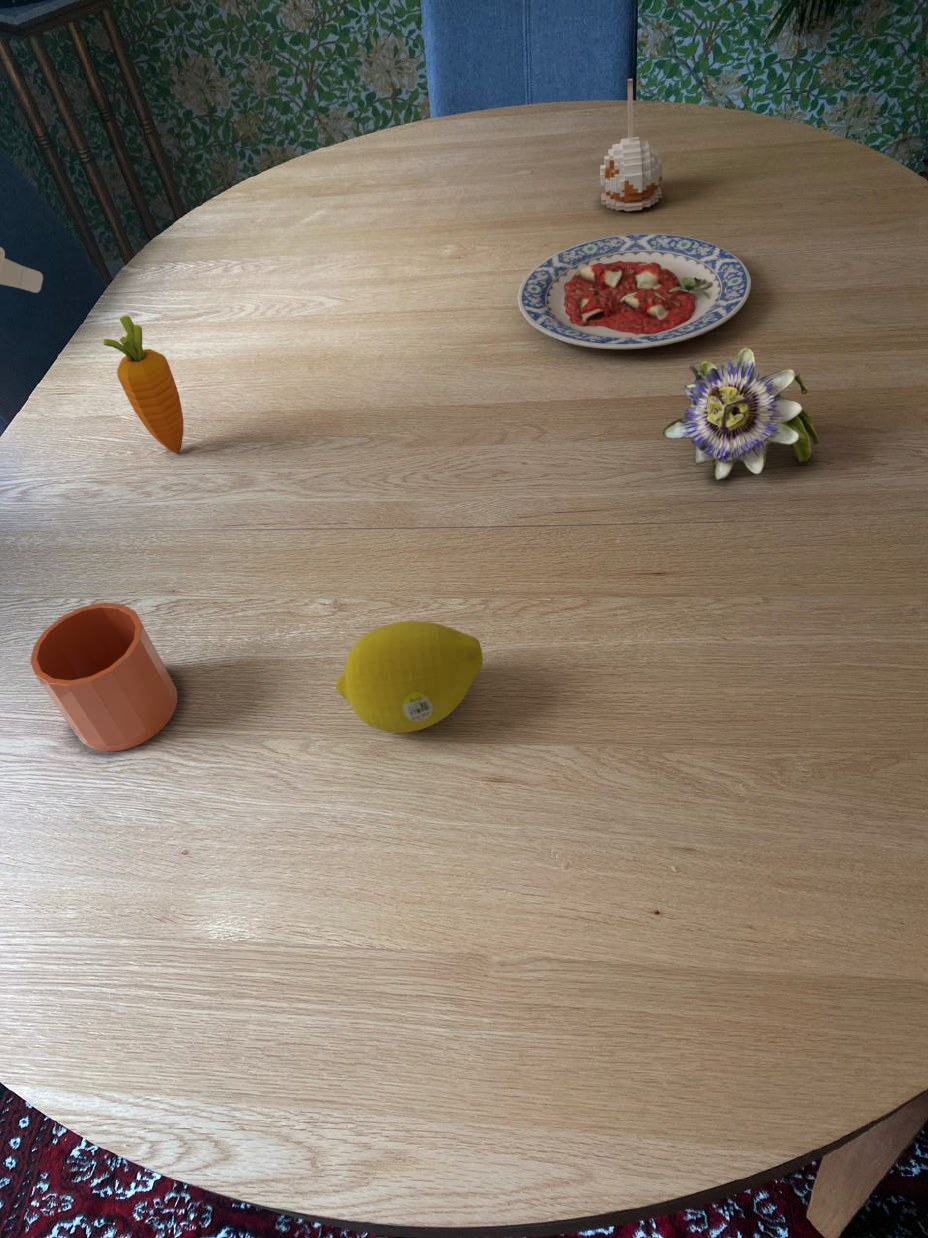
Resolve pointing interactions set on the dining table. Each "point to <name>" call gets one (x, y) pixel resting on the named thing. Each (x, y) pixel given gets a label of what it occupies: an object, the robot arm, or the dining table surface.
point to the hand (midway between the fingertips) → (18, 276)
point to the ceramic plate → (634, 291)
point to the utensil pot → (105, 676)
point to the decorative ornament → (631, 170)
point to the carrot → (149, 387)
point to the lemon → (409, 674)
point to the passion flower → (742, 415)
